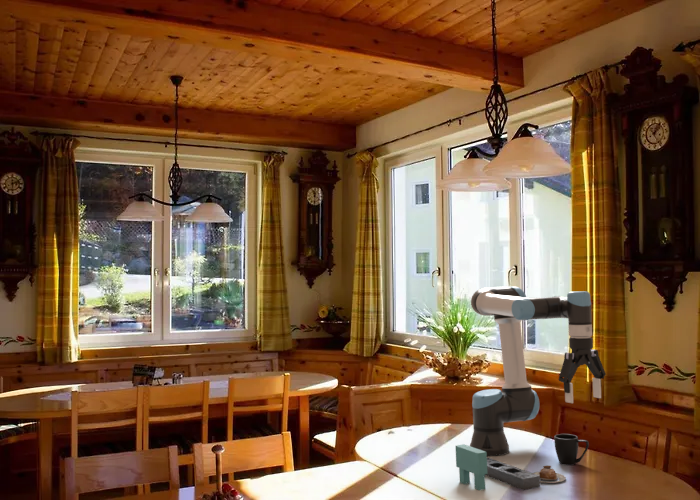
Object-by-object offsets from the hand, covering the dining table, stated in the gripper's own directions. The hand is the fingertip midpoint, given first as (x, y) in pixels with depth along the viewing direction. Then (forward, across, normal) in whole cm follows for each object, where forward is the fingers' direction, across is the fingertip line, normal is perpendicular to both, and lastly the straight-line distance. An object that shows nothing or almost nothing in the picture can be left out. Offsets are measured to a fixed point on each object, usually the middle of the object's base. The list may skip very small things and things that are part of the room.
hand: (583, 400), depth 219 cm
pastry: (+27, -11, +7) cm, 30 cm away
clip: (+26, -36, +16) cm, 47 cm away
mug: (+26, +9, +14) cm, 31 cm away
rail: (+26, -22, +16) cm, 38 cm away
